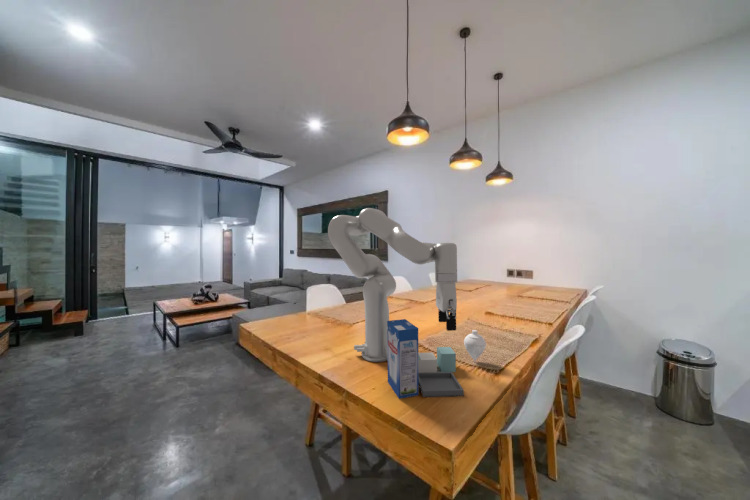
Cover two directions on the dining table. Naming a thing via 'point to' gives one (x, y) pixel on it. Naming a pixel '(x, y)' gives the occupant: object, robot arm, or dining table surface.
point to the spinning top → (474, 344)
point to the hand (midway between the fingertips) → (446, 325)
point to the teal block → (446, 359)
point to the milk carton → (403, 358)
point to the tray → (439, 385)
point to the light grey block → (427, 363)
